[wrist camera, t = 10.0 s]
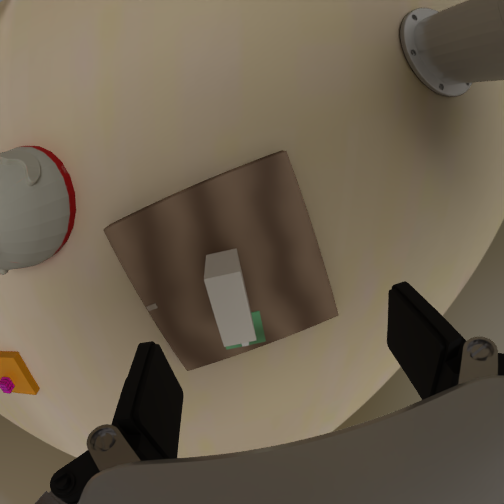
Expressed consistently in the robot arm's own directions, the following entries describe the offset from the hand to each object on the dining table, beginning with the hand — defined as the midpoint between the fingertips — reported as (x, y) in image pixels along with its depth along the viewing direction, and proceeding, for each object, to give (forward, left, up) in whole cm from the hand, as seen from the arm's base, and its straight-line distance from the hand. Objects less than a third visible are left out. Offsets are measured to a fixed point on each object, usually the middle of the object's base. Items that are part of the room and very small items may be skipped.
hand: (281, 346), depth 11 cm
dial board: (+4, +5, -22) cm, 23 cm away
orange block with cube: (+45, +8, -23) cm, 51 cm away
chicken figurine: (+23, -12, -22) cm, 34 cm away
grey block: (+4, +8, -20) cm, 22 cm away
